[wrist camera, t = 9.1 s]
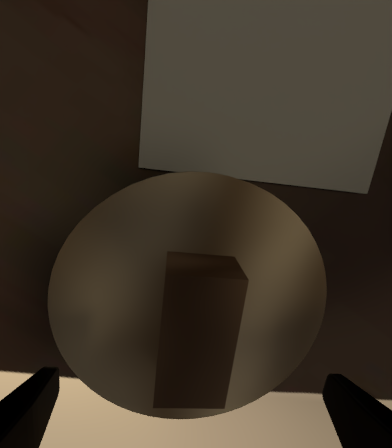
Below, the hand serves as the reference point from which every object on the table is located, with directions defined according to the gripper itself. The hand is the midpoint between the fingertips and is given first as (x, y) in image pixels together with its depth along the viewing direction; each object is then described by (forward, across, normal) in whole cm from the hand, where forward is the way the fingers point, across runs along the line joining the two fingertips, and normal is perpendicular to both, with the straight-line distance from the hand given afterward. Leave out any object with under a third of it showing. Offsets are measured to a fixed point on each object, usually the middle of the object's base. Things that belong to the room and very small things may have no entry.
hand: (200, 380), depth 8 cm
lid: (+4, 0, 0) cm, 4 cm away
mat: (+13, -5, -15) cm, 20 cm away
